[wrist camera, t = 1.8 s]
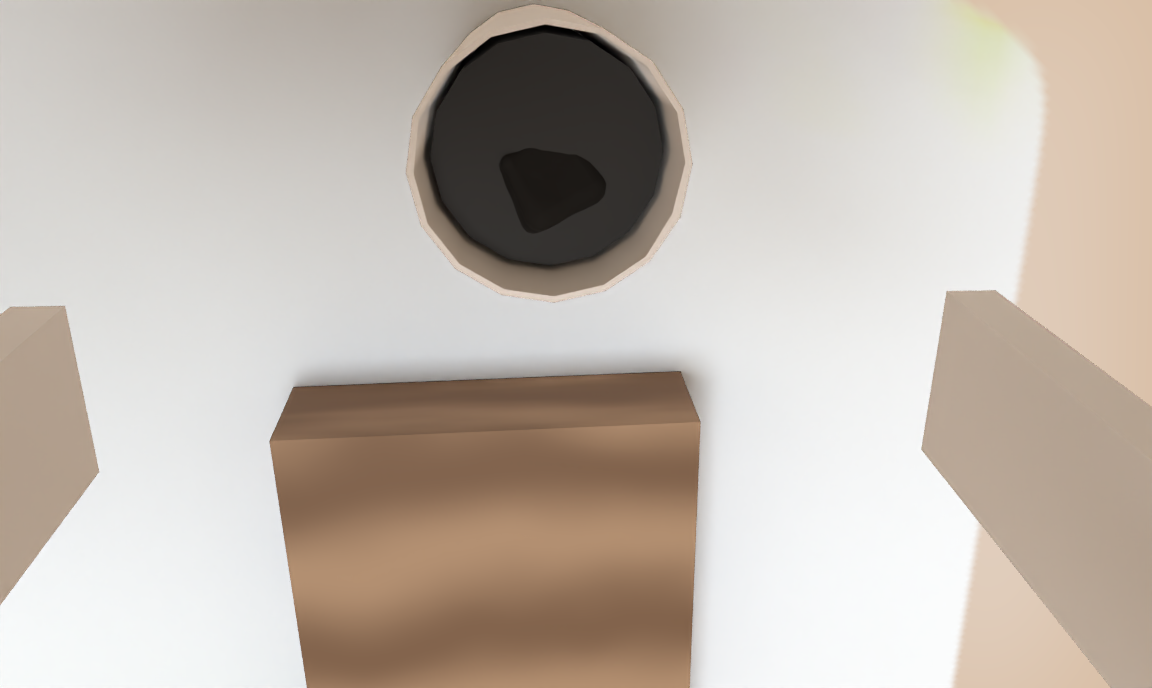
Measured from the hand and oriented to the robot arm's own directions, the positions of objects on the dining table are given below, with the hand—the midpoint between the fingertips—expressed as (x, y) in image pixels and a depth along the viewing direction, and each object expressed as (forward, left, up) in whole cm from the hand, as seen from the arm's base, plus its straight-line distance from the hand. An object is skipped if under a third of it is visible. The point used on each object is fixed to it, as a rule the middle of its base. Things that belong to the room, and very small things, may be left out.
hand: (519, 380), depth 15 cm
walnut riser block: (+17, -1, -19) cm, 26 cm away
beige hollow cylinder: (-1, +1, -19) cm, 19 cm away
